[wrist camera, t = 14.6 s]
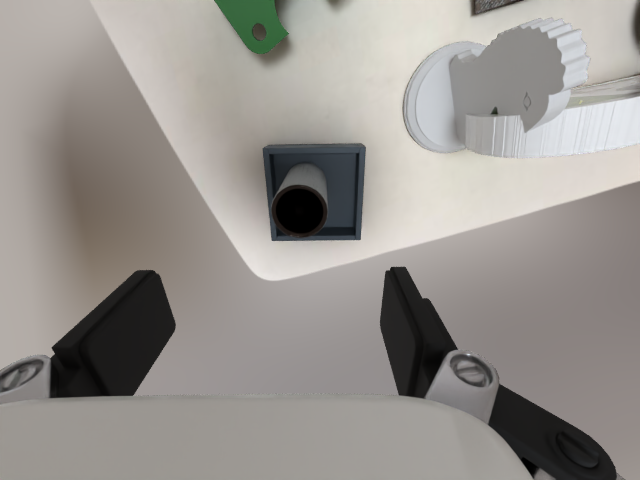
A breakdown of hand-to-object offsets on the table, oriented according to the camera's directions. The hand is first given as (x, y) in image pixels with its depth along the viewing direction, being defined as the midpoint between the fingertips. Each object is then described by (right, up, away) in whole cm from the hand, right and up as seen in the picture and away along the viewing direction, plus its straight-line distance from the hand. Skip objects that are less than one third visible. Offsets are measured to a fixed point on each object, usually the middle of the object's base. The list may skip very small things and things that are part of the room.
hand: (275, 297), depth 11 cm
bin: (+1, +8, +20) cm, 22 cm away
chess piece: (+15, +16, +16) cm, 28 cm away
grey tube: (0, +9, +20) cm, 22 cm away
